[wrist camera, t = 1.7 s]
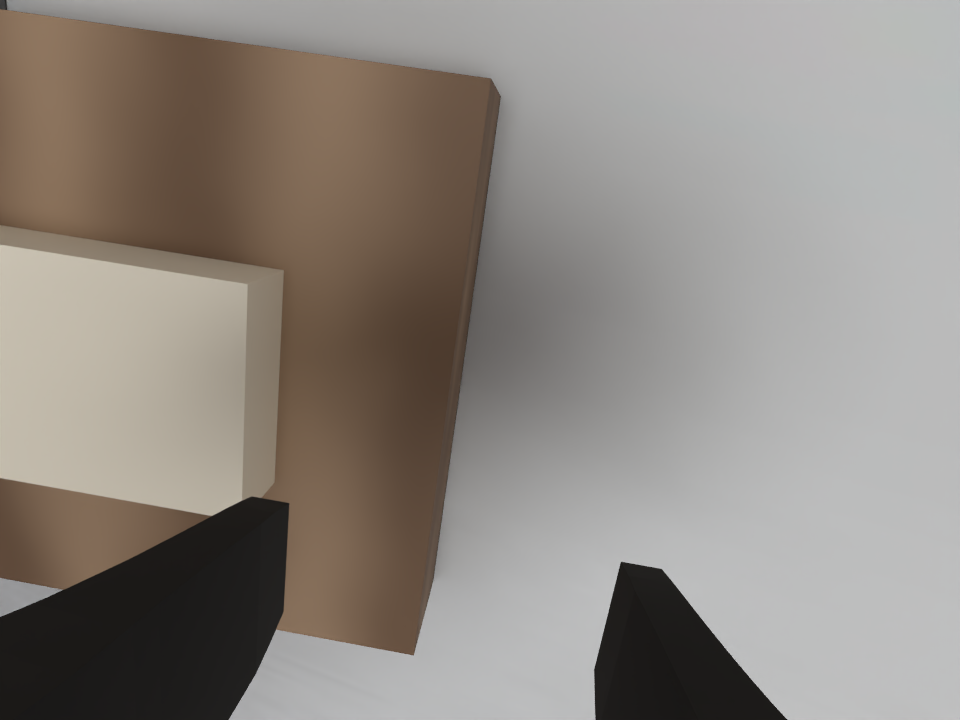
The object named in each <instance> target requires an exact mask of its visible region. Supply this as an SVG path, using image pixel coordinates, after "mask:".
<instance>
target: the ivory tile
mask: <svg viewBox="0 0 960 720" xmlns="http://www.w3.org/2000/svg"><path fill="white" fill-rule="evenodd" d="M283 278H284V270H280V269H273V268H267V267H261V266H255V265H248V264H242V263H236V262H229V261H223V260H217V259H211V258H204V257H198V256H192V255H185V254H179V253H173V252H166V251H160V250H154V249H148V248H141V247H135V246H129V245H122V244H116V243H110V242H104V241H97V240H91V239H85V238H78V237H72V236H66V235H60V234H53V233H47V232H41V231H34V230H28V229H22V228H16V227H9V226H3V225H0V478H3V479H9V480H14V481H20V482H25V483H31V484H37V485H42V486H48V487H53V488H59V489H64V490H70V491H76V492H81V493H87V494H92V495H98V496H103V497H109V498H115V499H120V500H126V501H131V502H137V503H142V504H148V505H154V506H159V507H165V508H170V509H176V510H181V511H187V512H193V513H198V514H204V515H209V516H213V515H215V514H217V513H219V512H220V511H222V510H224V509H226V508H228V507H230V506H232V505H234V504H236V503H238V502H240V501H242V500H245V499H247V498H249V497H251V496H252V497H258V498H262V497H263V495H264V494H265V493H266V492H267V491H268V490H269V488H270V487H271V486H272V485H273V484H274V483H275V460H276V437H277V414H278V392H279V369H280V346H281V323H282V300H283Z"/></svg>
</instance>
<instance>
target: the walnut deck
mask: <svg viewBox="0 0 960 720" xmlns="http://www.w3.org/2000/svg"><path fill="white" fill-rule="evenodd" d="M500 98H501V96H500V94H499V92H498V91H497V89H496V87H495V85H494V83H493V82H492V80H491V79H490V78H483V77H475V76H468V75H461V74H454V73H447V72H440V71H433V70H426V69H419V68H412V67H405V66H398V65H391V64H384V63H377V62H369V61H362V60H355V59H348V58H341V57H334V56H327V55H320V54H313V53H306V52H299V51H292V50H285V49H278V48H271V47H263V46H256V45H249V44H242V43H235V42H228V41H221V40H214V39H207V38H200V37H193V36H186V35H179V34H172V33H165V32H157V31H150V30H143V29H136V28H129V27H122V26H115V25H108V24H101V23H94V22H87V21H80V20H73V19H66V18H59V17H51V16H44V15H37V14H30V13H23V12H16V11H9V10H2V9H0V225H3V226H9V227H16V228H22V229H28V230H34V231H41V232H47V233H53V234H60V235H66V236H72V237H78V238H85V239H91V240H97V241H104V242H110V243H116V244H122V245H129V246H135V247H141V248H148V249H154V250H160V251H166V252H173V253H179V254H185V255H192V256H198V257H204V258H211V259H217V260H223V261H229V262H236V263H242V264H248V265H255V266H261V267H267V268H273V269H280V270H284V278H283V300H282V323H281V346H280V369H279V392H278V414H277V437H276V460H275V483H274V484H273V485H272V486H271V487H270V488H269V490H268V491H267V492H266V493H265V494H264V495H263V497H262V498H264V499H269V500H275V501H281V502H286V503H289V520H288V539H287V558H286V577H285V596H284V612H283V615H282V617H281V619H280V621H279V624H278V626H277V628H276V630H282V631H287V632H292V633H298V634H303V635H308V636H314V637H319V638H324V639H330V640H335V641H340V642H346V643H351V644H356V645H362V646H367V647H372V648H378V649H383V650H388V651H394V652H399V653H404V654H410V655H414V652H415V648H416V644H417V640H418V637H419V633H420V629H421V625H422V621H423V618H424V614H425V610H426V606H427V602H428V599H429V595H430V591H431V587H432V583H433V578H434V571H435V563H436V556H437V549H438V542H439V535H440V528H441V521H442V513H443V506H444V499H445V492H446V485H447V478H448V470H449V463H450V456H451V449H452V442H453V435H454V427H455V420H456V413H457V406H458V399H459V392H460V384H461V377H462V370H463V363H464V356H465V349H466V341H467V334H468V327H469V320H470V313H471V306H472V299H473V291H474V284H475V277H476V270H477V263H478V256H479V248H480V241H481V234H482V227H483V220H484V213H485V205H486V198H487V191H488V184H489V177H490V170H491V162H492V155H493V148H494V141H495V134H496V127H497V119H498V112H499V105H500ZM209 517H211V516H209V515H204V514H198V513H193V512H187V511H181V510H176V509H170V508H165V507H159V506H154V505H148V504H142V503H137V502H131V501H126V500H120V499H115V498H109V497H103V496H98V495H92V494H87V493H81V492H76V491H70V490H64V489H59V488H53V487H48V486H42V485H37V484H31V483H25V482H20V481H14V480H9V479H3V478H0V578H4V579H10V580H15V581H20V582H26V583H31V584H36V585H42V586H47V587H52V588H58V589H63V590H65V589H67V588H69V587H71V586H73V585H75V584H77V583H79V582H82V581H84V580H86V579H88V578H90V577H92V576H94V575H96V574H99V573H101V572H103V571H105V570H107V569H109V568H111V567H113V566H116V565H118V564H120V563H122V562H124V561H126V560H128V559H130V558H132V557H134V556H136V555H138V554H140V553H142V552H144V551H146V550H148V549H150V548H152V547H154V546H156V545H158V544H159V543H161V542H163V541H165V540H167V539H169V538H171V537H173V536H175V535H177V534H179V533H181V532H183V531H185V530H186V529H188V528H190V527H192V526H194V525H196V524H198V523H200V522H202V521H203V520H205V519H207V518H209Z"/></svg>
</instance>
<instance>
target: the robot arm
mask: <svg viewBox="0 0 960 720" xmlns="http://www.w3.org/2000/svg"><path fill="white" fill-rule="evenodd" d="M288 520H289V503H286V502H281V501H275V500H269V499H264V498H258V497H252V496H251V497H249V498H247V499H245V500H242V501H240V502H238V503H236V504H234V505H232V506H230V507H228V508H226V509H224V510H222V511H220V512H219V513H217V514H215V515H213V516H211V517H209V518H207V519H205V520H203V521H202V522H200V523H198V524H196V525H194V526H192V527H190V528H188V529H186V530H185V531H183V532H181V533H179V534H177V535H175V536H173V537H171V538H169V539H167V540H165V541H163V542H161V543H159V544H158V545H156V546H154V547H152V548H150V549H148V550H146V551H144V552H142V553H140V554H138V555H136V556H134V557H132V558H130V559H128V560H126V561H124V562H122V563H120V564H118V565H116V566H113V567H111V568H109V569H107V570H105V571H103V572H101V573H99V574H96V575H94V576H92V577H90V578H88V579H86V580H84V581H82V582H79V583H77V584H75V585H73V586H71V587H69V588H67V589H65V590H62V591H60V592H58V593H56V594H54V595H52V596H49V597H47V598H45V599H42V600H40V601H38V602H36V603H33V604H31V605H28V606H26V607H24V608H21V609H19V610H16V611H14V612H12V613H9V614H7V615H4V616H2V617H0V720H229V718H230V716H231V715H232V713H233V711H234V710H235V708H236V706H237V705H238V703H239V701H240V700H241V698H242V696H243V695H244V693H245V691H246V690H247V688H248V686H249V684H250V683H251V681H252V679H253V678H254V676H255V674H256V672H257V670H258V668H259V666H260V664H261V661H262V659H263V657H264V655H265V653H266V651H267V648H268V646H269V644H270V642H271V640H272V637H273V635H274V633H275V630H276V628H277V626H278V624H279V621H280V619H281V617H282V615H283V612H284V596H285V577H286V558H287V539H288ZM594 676H595V715H596V720H787V719H786V718H785V717H784V716H783V715H782V714H781V713H780V711H779V710H778V709H777V708H776V707H775V706H774V705H773V704H772V703H771V702H770V700H769V699H768V698H767V697H766V696H765V695H764V694H763V692H762V691H761V690H760V689H759V688H758V687H757V686H756V684H755V683H754V682H753V681H752V680H751V679H750V678H749V676H748V675H747V674H746V673H745V672H744V670H743V669H742V668H741V667H740V666H739V665H738V663H737V662H736V661H735V660H734V659H733V657H732V656H731V655H730V654H729V653H728V651H727V650H726V649H725V648H724V646H723V645H722V644H721V643H720V641H719V640H718V639H717V638H716V637H715V635H714V634H713V633H712V632H711V630H710V629H709V628H708V627H707V625H706V624H705V623H704V622H703V620H702V619H701V618H700V617H699V615H698V614H697V613H696V611H695V610H694V609H693V608H692V606H691V605H690V604H689V603H688V601H687V600H686V599H685V597H684V596H683V595H682V594H681V592H680V591H679V590H678V589H677V587H676V586H675V585H674V584H673V582H672V581H671V580H670V579H669V577H668V576H667V575H666V574H665V573H664V571H663V570H662V569H658V568H653V567H647V566H641V565H636V564H630V563H625V562H621V564H620V568H619V572H618V576H617V580H616V584H615V588H614V592H613V596H612V600H611V604H610V608H609V613H608V617H607V621H606V625H605V629H604V633H603V637H602V641H601V645H600V649H599V653H598V657H597V661H596V665H595V669H594Z"/></svg>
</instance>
